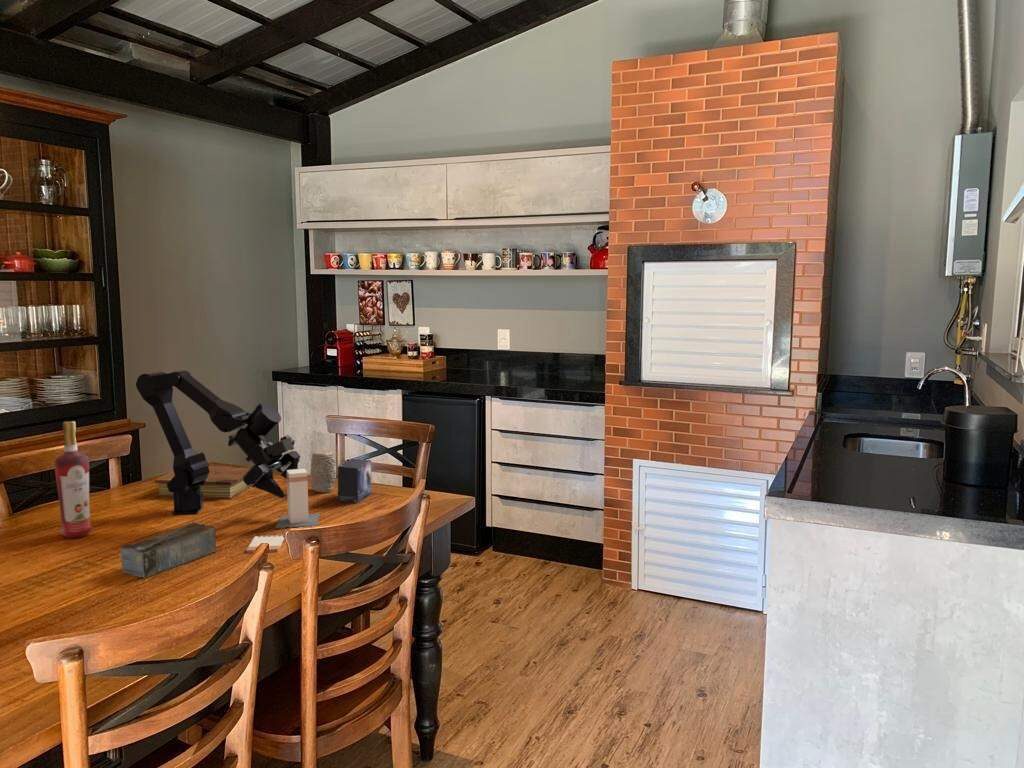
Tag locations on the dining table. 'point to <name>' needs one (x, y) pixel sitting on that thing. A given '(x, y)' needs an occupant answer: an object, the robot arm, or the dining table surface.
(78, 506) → the liquor
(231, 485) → the diary
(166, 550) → the grey piece
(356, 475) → the small box
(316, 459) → the carving
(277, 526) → the mat
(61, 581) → the dining table surface
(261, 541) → the cream block pink end
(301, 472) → the beige tall block
